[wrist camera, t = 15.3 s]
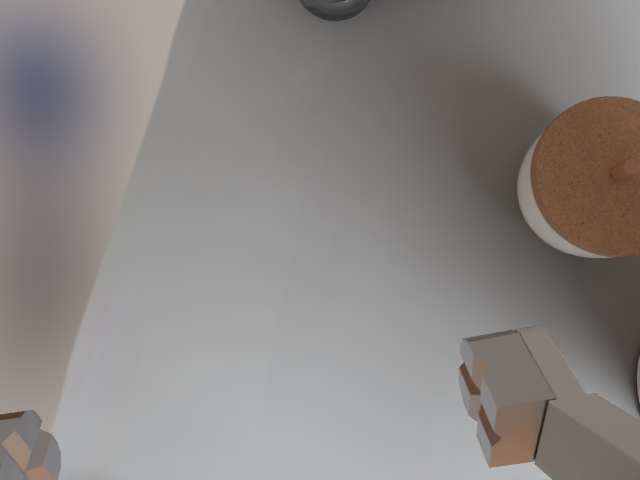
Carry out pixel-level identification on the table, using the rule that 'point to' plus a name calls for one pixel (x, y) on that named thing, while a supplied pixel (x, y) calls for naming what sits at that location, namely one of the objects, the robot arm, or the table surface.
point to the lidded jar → (586, 180)
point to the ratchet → (338, 9)
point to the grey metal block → (319, 2)
